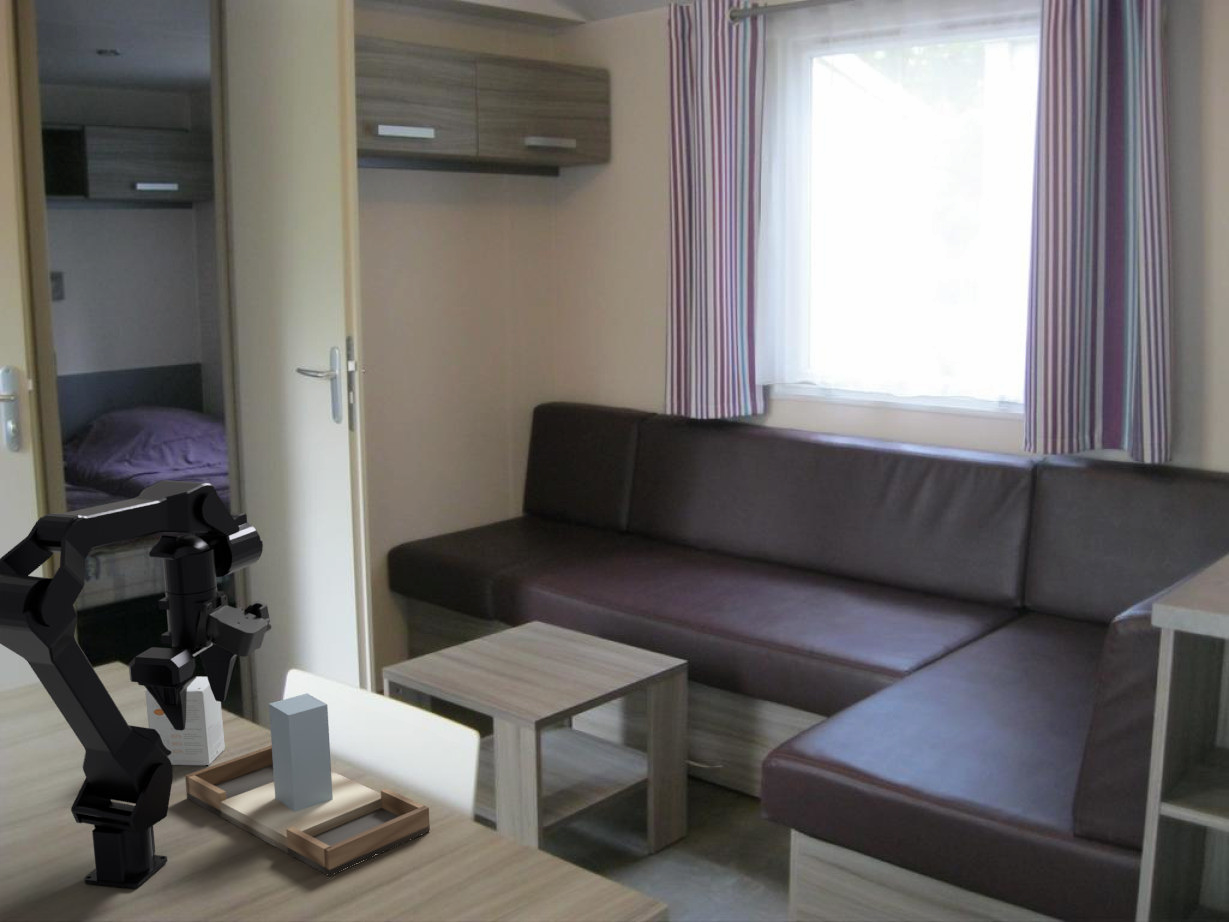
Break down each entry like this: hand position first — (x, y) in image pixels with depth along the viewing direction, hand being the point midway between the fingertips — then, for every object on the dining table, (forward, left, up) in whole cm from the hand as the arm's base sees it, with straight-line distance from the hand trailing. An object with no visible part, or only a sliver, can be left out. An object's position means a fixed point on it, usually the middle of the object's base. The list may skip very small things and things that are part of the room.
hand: (200, 715), depth 154 cm
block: (+3, -11, -11) cm, 16 cm away
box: (+3, -11, -13) cm, 17 cm away
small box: (+16, +12, -13) cm, 24 cm away
